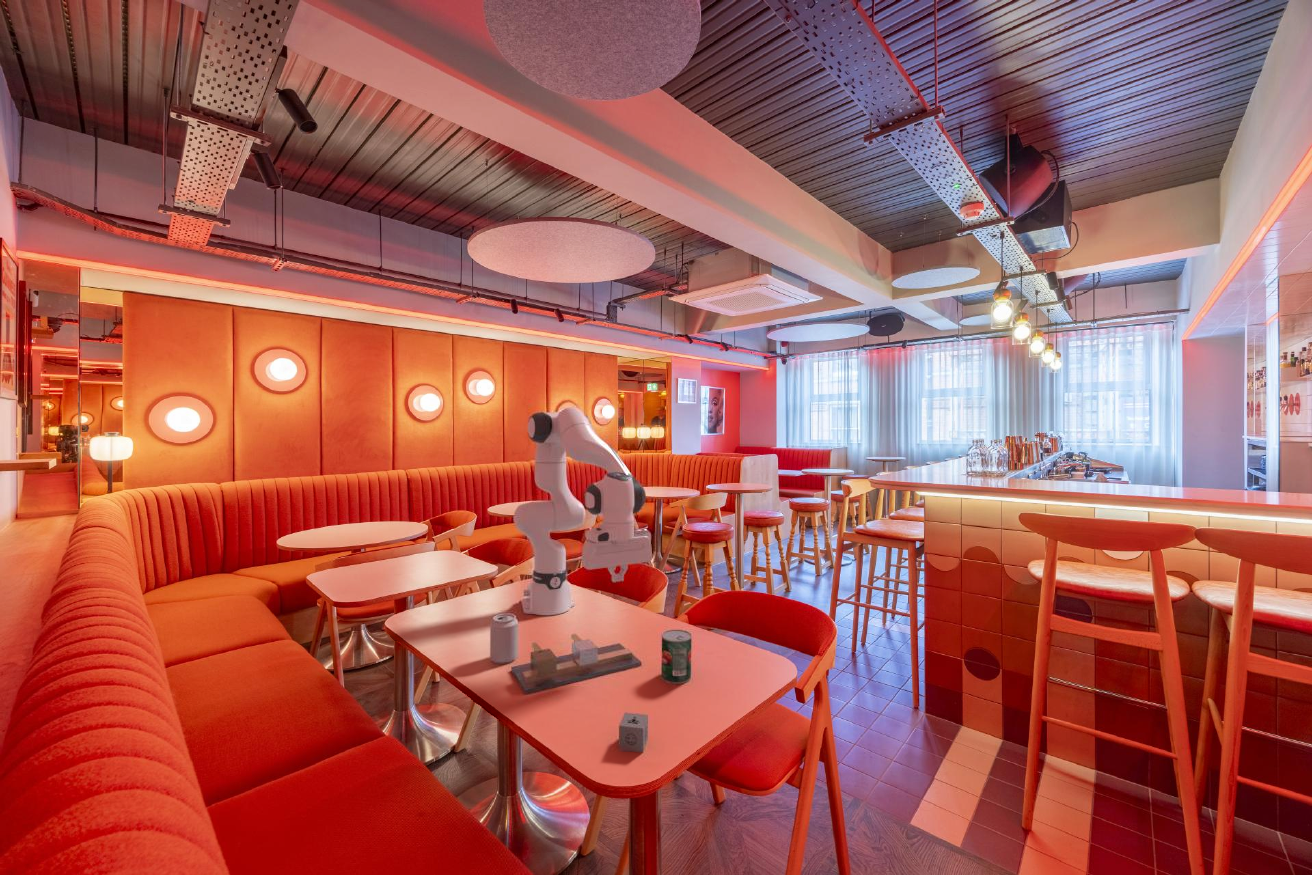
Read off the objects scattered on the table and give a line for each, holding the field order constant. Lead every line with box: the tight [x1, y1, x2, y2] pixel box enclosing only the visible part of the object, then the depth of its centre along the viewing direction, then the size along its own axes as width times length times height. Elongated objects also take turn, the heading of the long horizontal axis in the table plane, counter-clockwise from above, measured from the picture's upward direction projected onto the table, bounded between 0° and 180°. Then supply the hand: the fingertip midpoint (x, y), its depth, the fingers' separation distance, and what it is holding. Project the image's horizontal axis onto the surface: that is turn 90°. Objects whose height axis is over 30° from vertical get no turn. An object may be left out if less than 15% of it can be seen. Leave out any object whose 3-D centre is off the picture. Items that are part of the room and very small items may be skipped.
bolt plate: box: [510, 642, 643, 695], centre depth 138 cm, size 14×32×6 cm, turn 120°
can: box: [489, 613, 519, 665], centre depth 143 cm, size 8×8×12 cm
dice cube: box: [618, 712, 649, 754], centre depth 105 cm, size 5×5×5 cm
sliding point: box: [570, 633, 599, 666], centre depth 140 cm, size 12×5×5 cm, turn 30°
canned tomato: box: [660, 629, 693, 685], centre depth 134 cm, size 8×8×11 cm
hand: (617, 581), depth 142 cm, fingers closed
